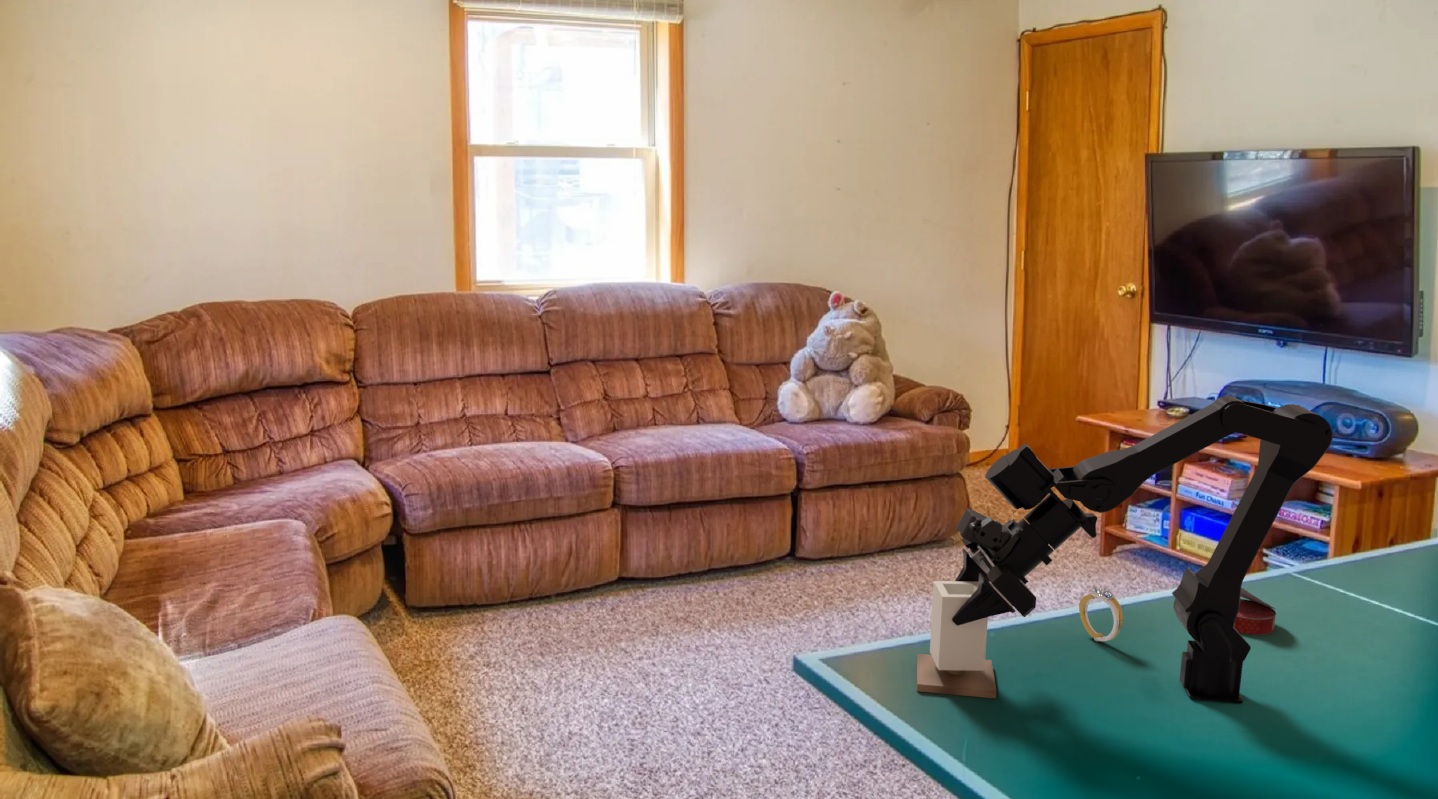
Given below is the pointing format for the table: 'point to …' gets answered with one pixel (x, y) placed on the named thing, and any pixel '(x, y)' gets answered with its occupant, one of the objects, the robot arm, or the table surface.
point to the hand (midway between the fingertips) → (949, 613)
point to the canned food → (1254, 615)
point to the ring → (1115, 608)
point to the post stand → (954, 679)
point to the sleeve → (956, 629)
